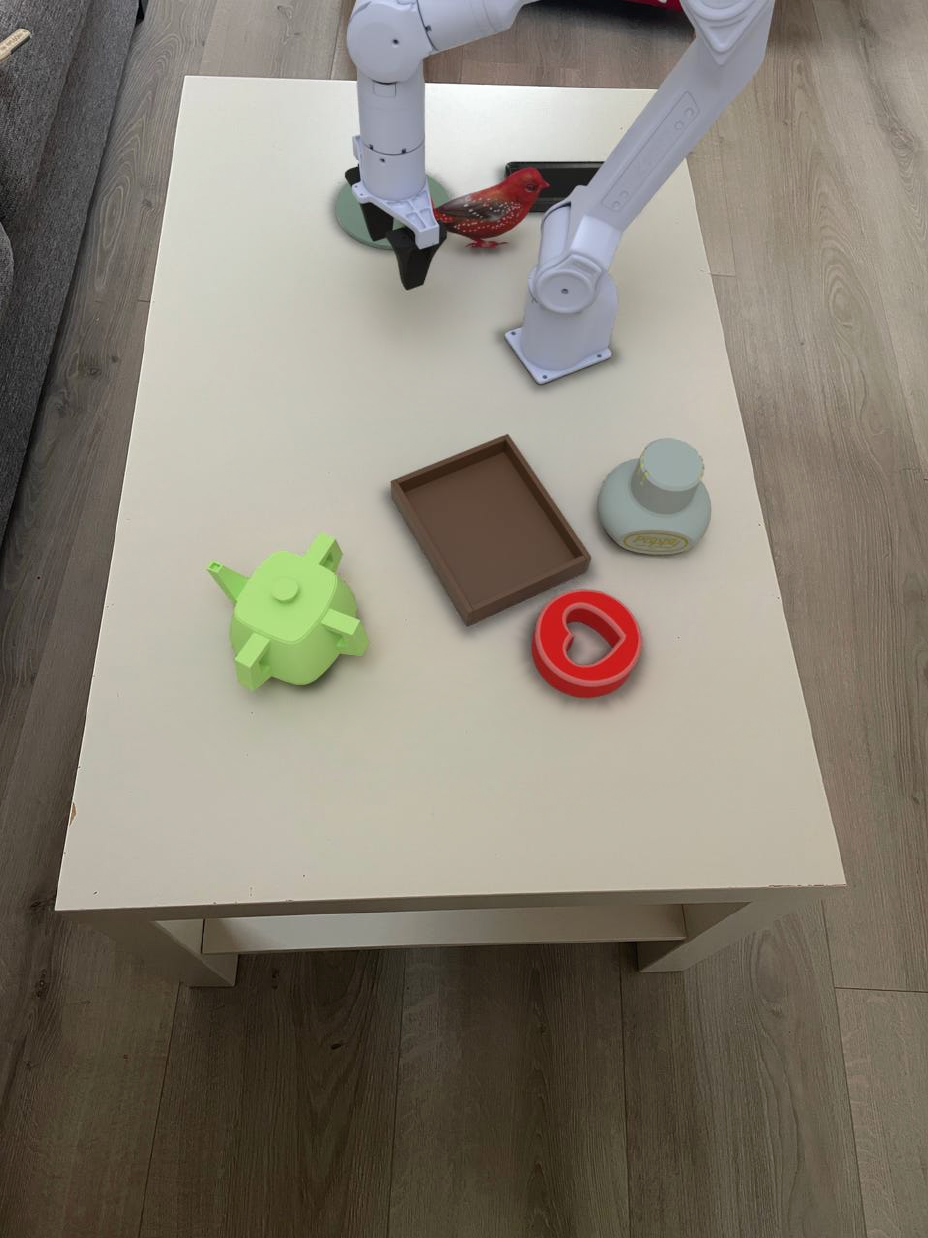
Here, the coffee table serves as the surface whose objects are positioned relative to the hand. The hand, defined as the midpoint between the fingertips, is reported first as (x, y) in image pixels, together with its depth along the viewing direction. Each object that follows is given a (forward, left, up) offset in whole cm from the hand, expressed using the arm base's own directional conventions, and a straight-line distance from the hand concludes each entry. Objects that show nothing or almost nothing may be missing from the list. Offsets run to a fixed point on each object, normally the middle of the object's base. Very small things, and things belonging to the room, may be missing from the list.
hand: (397, 260), depth 87 cm
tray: (+4, +28, -9) cm, 30 cm away
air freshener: (-11, +34, -10) cm, 37 cm away
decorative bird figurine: (-13, -8, -4) cm, 16 cm away
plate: (-8, -18, -9) cm, 22 cm away
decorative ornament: (+2, +43, -10) cm, 44 cm away
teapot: (+25, +30, -10) cm, 40 cm away
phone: (-29, -12, -9) cm, 33 cm away
